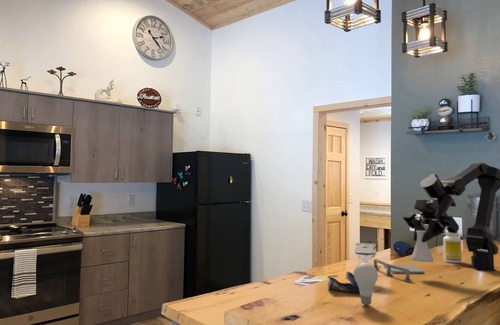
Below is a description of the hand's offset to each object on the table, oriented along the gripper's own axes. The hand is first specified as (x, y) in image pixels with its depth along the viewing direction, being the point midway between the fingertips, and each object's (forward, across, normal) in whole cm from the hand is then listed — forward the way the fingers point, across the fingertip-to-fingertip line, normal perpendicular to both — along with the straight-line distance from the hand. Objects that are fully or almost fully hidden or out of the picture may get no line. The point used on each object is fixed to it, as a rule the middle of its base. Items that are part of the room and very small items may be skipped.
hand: (418, 240), depth 132 cm
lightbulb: (+36, +14, -18) cm, 43 cm away
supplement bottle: (-18, -15, +37) cm, 44 cm away
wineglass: (+22, -6, -4) cm, 23 cm away
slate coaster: (+4, -12, +14) cm, 19 cm away
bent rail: (+12, -9, +6) cm, 16 cm away
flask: (+4, 0, +6) cm, 7 cm away
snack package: (+31, +1, -13) cm, 34 cm away
